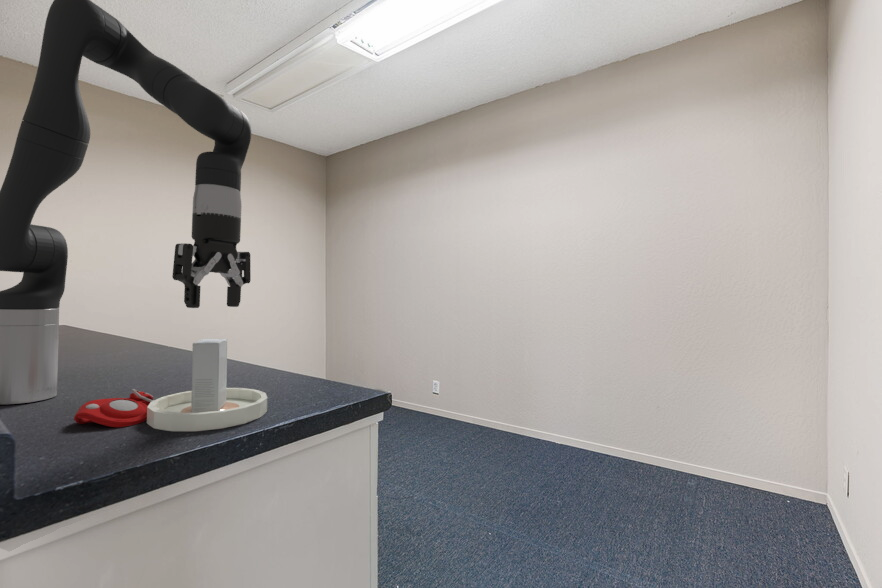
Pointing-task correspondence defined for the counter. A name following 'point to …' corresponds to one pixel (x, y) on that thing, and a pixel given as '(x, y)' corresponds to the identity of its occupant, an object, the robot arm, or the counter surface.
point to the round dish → (178, 416)
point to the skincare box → (209, 375)
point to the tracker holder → (116, 410)
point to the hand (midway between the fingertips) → (213, 307)
